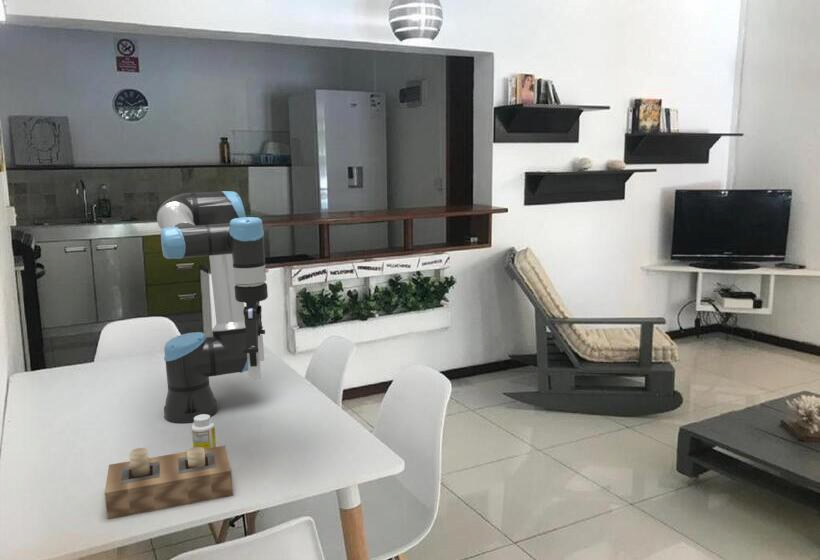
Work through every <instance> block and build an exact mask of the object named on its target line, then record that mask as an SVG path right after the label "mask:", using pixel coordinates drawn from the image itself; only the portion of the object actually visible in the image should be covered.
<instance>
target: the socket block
mask: <svg viewBox="0 0 820 560" xmlns="http://www.w3.org/2000/svg"><path fill="white" fill-rule="evenodd" d="M204 452H205V463H206V466H203V467H197V468H191V469H188V458H187V451H184V452H179V453H171V454H166V455H159V456H154V457H153V456H152V457H148V458H149V467H150V476H145V477H139V478H134V479H132V472H131V463H130V460H129V461H123V462H116V463H111V464H108V467H107V468H108V470H107V476H106V481H105V490H104V499H105V508H106V517H107V520H111V519H115V518H121V517H125V516H131V515H136V514H137V515H138V514H141V513H142V514H143V513H147V512H152V511H158V510H163V509H168V508H174V507H179V506H184V505H188V504H189V505H190V504H194V503H195V504H196V503H199V502H200V503H201V502H206V501H210V500H215V499H216V500H217V499H220V498H226V497H230V496H231V497H232V496H234V491H233V479H232V469H231V463H230V461H229V456H228V451H227V447H226V445H219V446H216V447H213V448H207V449H204Z"/></svg>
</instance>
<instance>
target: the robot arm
mask: <svg viewBox="0 0 820 560" xmlns="http://www.w3.org/2000/svg"><path fill="white" fill-rule="evenodd" d="M156 222H157V225H158V226H159V228H160V230H161V231H160V242H161V250H162V256H163V257H164V258H165V259H167V260H173V259H177V260H181V259H187V258H189V259H190V258H197V257H207V256H209V265H210V275H211V283H212V292H213V295H212V296H213V303H214V304H213V305H214V313H215V322H216V324H215V325H214V326H213V328H212V329H211V336H207V335H206V334H205V333H204V332H201V331H197V332H194V331H193V332H188V333H183V334H180V335H177V336H174V337H172V338H171V339H169V340H168V341H167V342H166V343H165V344H164V347H163V348H164V357H163V360H164V363H165V370H166V371H165V372H166V381H167V382H166V383H167V394H166V397H165V398H166V399H165V405H164V406H163V407H164V408H163V415H164V416H163V417H164V419H165V420H166V421H168V422H172V423H175V424H176V423H177V424H185V423H194V417H195V416H197V415H201V414H207V415H210V418H211V417H213V416H214V415H216V414H217V412H218V410H219V408H218V402H217V399H216V398H215V395H214V393H213V390H212V388H211V384H210V377H216V376H223V375H231V374H237V373H244V372H248V380H260V379H261V378H262V373H261V362H263V361H265V351H264V349H265V348H264V337H263V335H266V329H263V328H264V327H263V322H262V311H263V309H262V305H260V302H263V301H265V300H267V299H268V298H269V297H268V296H269V294H268V284H267V283H266V281H267V273H269V272H270V271H269V268H266V256H265V255H266V253H265V237H264V235H265V231H264V226H263V221H262V219H261V218H260V217H254V216H248V217H247V215H246V210H245V207H244V205H243V201H242V198H241V196H240V195H239V193H237V192H236V191H233V190H231V191H229V190H227V191H225V190H224V191H223V190H220V191H219V190H218V191H205V192H187V193H186V192H185V193H180V194H177V195H174V196H172V197H170V198H168V199H167V200H165V201H164V202H163V203H162V204H161V205H160V206H159V207H158V210H157V212H156ZM245 305H246V306H245Z"/></svg>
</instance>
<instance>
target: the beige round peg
mask: <svg viewBox="0 0 820 560" xmlns="http://www.w3.org/2000/svg"><path fill="white" fill-rule="evenodd" d="M128 454H129V455H128V456H129V461H130V463H131V472H132V479H134V478H139V477H145V476H150V467H149V458H150V457H149V450H148V448H146V447H139V448H134V449H132V450H131V451H130V452H129V453H128Z"/></svg>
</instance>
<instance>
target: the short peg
mask: <svg viewBox="0 0 820 560" xmlns="http://www.w3.org/2000/svg"><path fill="white" fill-rule="evenodd" d="M186 452H187V458H188V469H191V468H197V467H203V466H206V463H205V452H204V448H202V447H195V448H193V447H191V448H189V449H188V450H186Z"/></svg>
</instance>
